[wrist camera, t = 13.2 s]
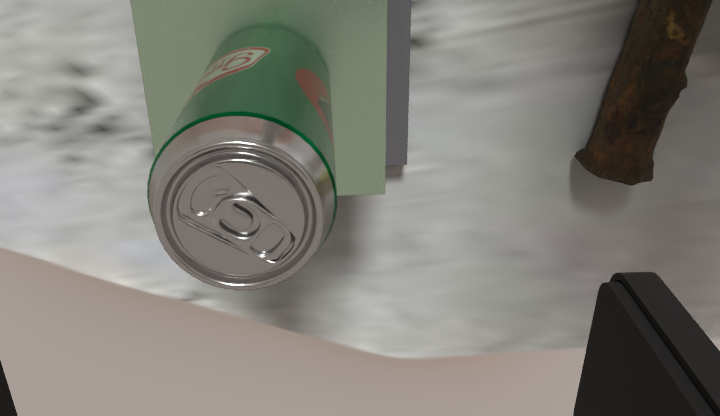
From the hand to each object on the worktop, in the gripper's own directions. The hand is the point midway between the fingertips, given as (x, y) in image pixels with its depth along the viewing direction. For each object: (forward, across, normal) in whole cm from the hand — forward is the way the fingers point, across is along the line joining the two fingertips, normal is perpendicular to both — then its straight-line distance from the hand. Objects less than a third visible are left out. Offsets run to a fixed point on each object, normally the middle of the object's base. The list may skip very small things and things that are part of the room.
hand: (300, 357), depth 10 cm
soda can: (+19, +2, +2) cm, 19 cm away
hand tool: (+29, -18, 0) cm, 34 cm away
